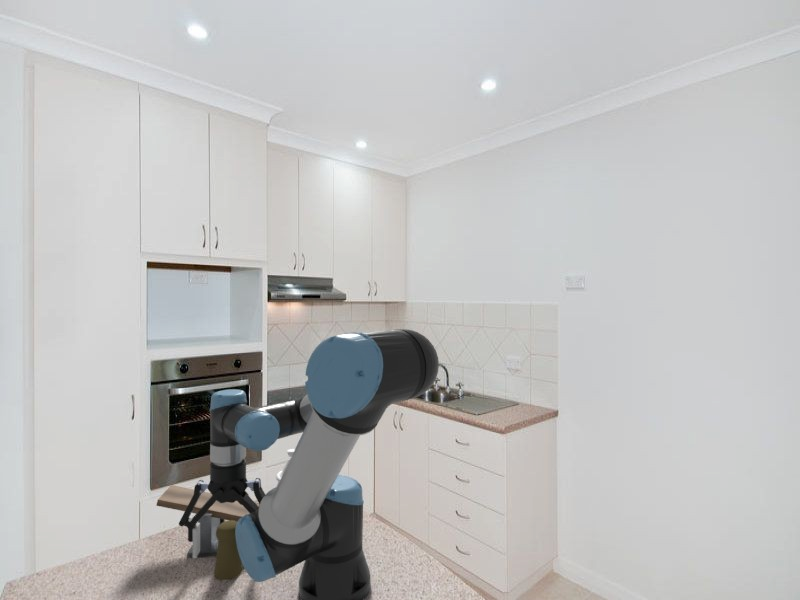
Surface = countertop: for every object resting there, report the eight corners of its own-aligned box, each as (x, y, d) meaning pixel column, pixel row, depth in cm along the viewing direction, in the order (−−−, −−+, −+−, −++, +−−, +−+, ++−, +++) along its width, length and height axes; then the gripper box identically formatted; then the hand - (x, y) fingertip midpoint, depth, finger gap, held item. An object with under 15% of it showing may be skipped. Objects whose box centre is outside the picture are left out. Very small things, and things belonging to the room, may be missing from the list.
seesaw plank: (255, 530, 108) (257, 521, 108) (154, 509, 105) (156, 500, 105) (262, 511, 117) (264, 503, 117) (169, 492, 114) (172, 483, 114)
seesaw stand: (222, 556, 106) (222, 514, 106) (187, 558, 105) (187, 516, 105) (234, 530, 117) (234, 492, 117) (203, 531, 116) (202, 494, 116)
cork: (233, 582, 96) (232, 532, 96) (208, 578, 98) (208, 528, 97) (247, 565, 102) (247, 518, 102) (224, 561, 104) (224, 515, 103)
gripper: (287, 452, 105) (286, 540, 105) (176, 455, 102) (176, 546, 102) (282, 464, 97) (282, 559, 98) (162, 468, 94) (162, 566, 95)
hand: (227, 553), depth 100 cm, fingers open, 13 cm apart
